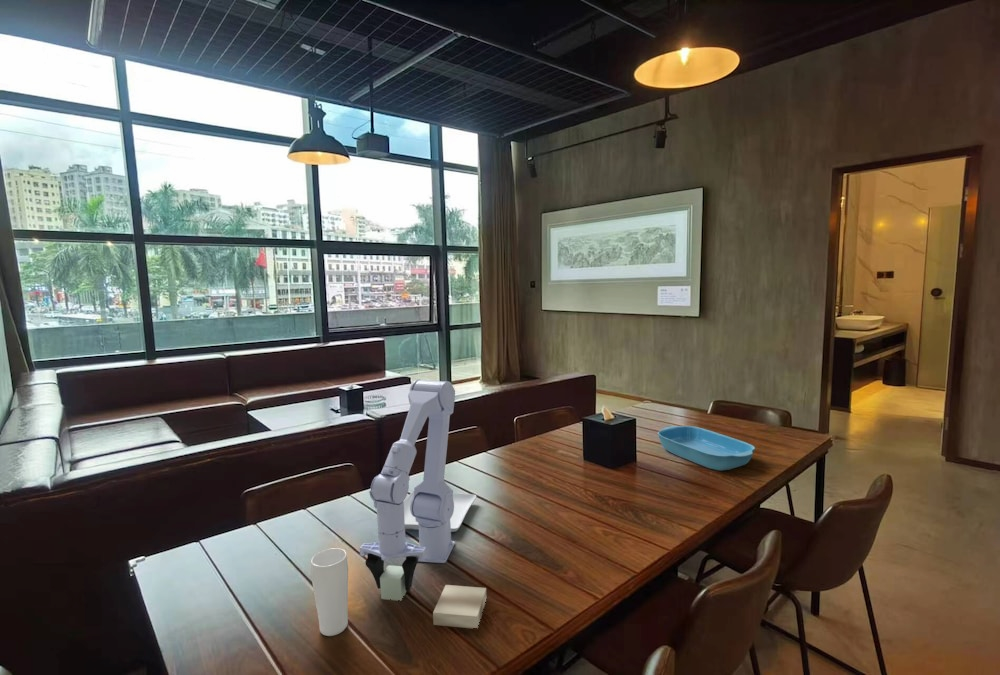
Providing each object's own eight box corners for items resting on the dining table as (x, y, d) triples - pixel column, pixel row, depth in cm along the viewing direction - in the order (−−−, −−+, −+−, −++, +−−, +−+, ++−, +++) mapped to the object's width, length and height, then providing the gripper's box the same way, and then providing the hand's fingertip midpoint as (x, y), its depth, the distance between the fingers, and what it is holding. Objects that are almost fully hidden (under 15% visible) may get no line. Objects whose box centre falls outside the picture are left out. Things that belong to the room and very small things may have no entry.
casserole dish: (768, 466, 171) (768, 447, 170) (725, 479, 161) (725, 459, 160) (686, 438, 204) (686, 422, 203) (646, 447, 194) (646, 430, 193)
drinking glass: (355, 615, 99) (351, 546, 97) (346, 639, 92) (341, 566, 90) (322, 617, 98) (317, 548, 97) (310, 641, 92) (305, 567, 90)
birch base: (446, 597, 104) (445, 584, 104) (486, 601, 103) (486, 587, 102) (433, 626, 95) (432, 612, 95) (477, 630, 94) (477, 616, 94)
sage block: (389, 586, 108) (388, 565, 108) (408, 587, 107) (407, 566, 107) (381, 599, 104) (379, 577, 103) (401, 601, 103) (400, 579, 102)
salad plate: (458, 539, 128) (458, 527, 127) (384, 533, 132) (384, 521, 132) (478, 504, 148) (477, 493, 148) (413, 499, 153) (413, 489, 152)
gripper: (351, 535, 101) (355, 595, 103) (417, 540, 99) (420, 601, 100) (366, 519, 108) (369, 576, 110) (427, 523, 106) (430, 580, 107)
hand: (394, 586), depth 105 cm, fingers open, 6 cm apart
